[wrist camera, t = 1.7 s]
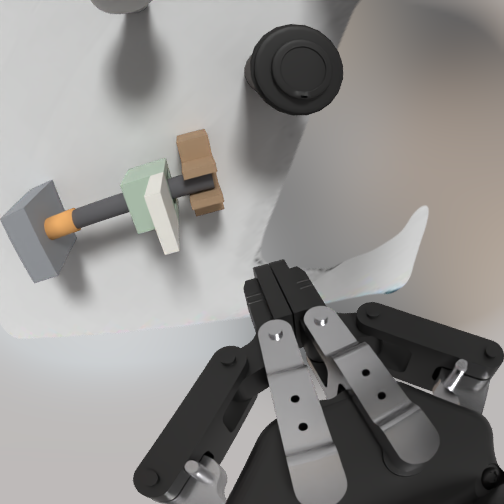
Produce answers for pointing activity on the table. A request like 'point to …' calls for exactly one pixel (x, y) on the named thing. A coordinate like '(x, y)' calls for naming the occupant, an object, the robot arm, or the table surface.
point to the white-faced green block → (153, 203)
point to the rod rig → (100, 209)
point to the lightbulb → (121, 5)
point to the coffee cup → (295, 69)
